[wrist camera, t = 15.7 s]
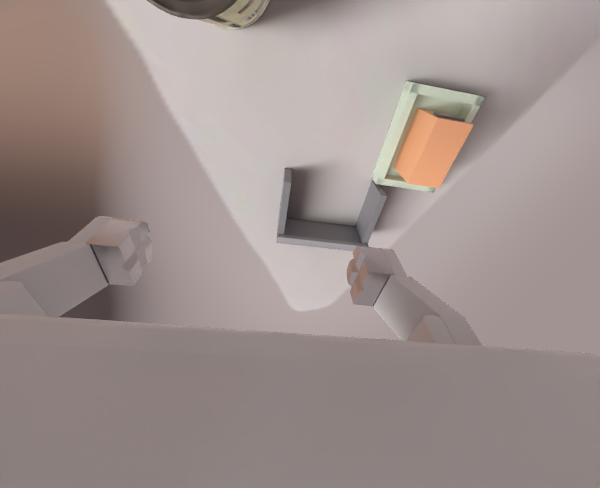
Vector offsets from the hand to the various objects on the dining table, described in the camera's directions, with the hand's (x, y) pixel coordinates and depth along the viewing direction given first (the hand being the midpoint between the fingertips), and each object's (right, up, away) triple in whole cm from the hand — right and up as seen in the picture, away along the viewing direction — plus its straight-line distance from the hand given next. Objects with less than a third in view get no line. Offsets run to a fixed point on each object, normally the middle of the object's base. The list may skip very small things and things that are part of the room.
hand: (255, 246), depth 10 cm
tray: (+19, +15, +26) cm, 35 cm away
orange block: (+19, +15, +25) cm, 35 cm away
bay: (+6, +7, +32) cm, 33 cm away
